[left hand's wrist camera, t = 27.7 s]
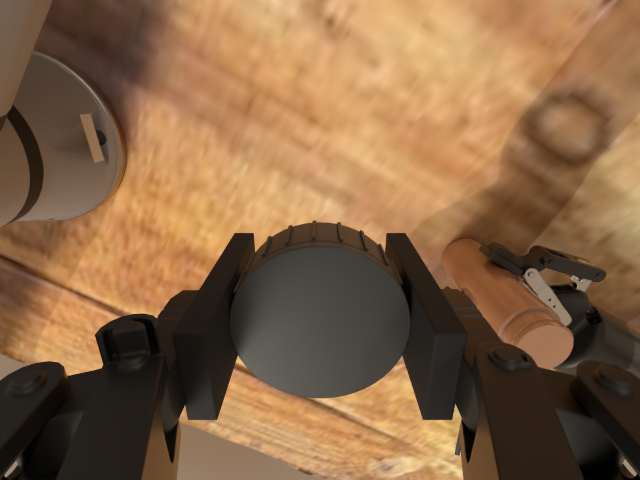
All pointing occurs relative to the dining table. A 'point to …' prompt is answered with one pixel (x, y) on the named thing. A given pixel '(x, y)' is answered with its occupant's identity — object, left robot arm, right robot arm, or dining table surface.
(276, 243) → the lid
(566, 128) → the dining table surface
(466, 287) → the wooden cylinder
